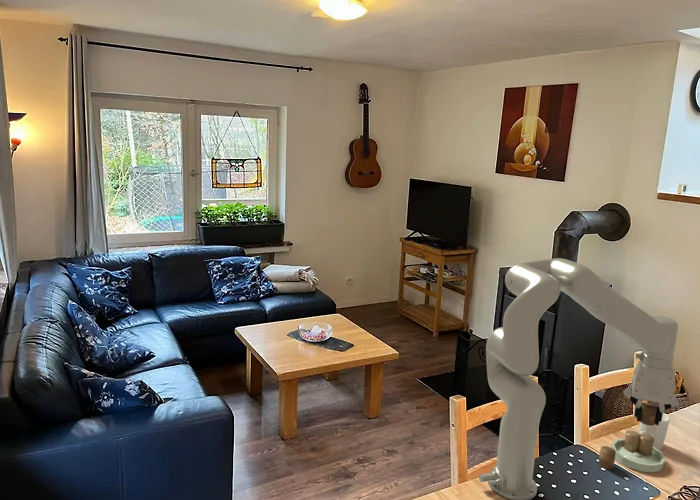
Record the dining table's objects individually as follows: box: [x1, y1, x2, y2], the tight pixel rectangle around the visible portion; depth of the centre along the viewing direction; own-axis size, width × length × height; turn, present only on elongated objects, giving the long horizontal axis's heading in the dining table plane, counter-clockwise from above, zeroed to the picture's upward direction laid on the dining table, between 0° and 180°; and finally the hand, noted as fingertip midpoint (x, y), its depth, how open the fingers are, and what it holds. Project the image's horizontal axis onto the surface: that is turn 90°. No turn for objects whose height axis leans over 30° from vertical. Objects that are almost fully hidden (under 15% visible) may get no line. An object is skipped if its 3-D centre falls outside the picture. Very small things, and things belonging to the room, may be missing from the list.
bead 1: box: [597, 445, 616, 470], centre depth 154 cm, size 4×4×5 cm
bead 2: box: [639, 401, 658, 426], centre depth 150 cm, size 4×4×5 cm
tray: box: [610, 430, 666, 474], centre depth 158 cm, size 14×14×6 cm
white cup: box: [638, 412, 671, 450], centre depth 167 cm, size 8×8×10 cm
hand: (647, 420), depth 150 cm, fingers closed on bead 2, 4 cm apart
